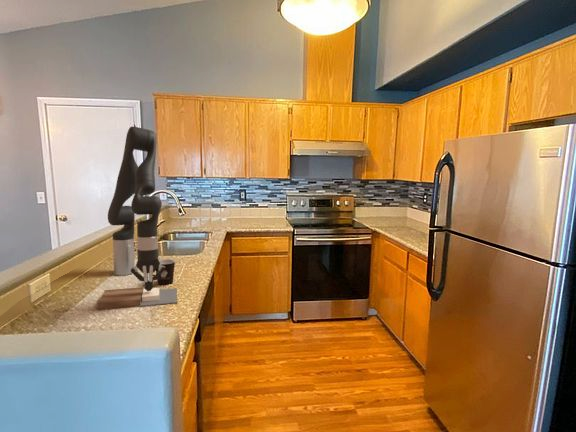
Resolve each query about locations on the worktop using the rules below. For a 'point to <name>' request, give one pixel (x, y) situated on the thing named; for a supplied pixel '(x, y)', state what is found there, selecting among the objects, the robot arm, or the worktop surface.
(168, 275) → the coffee mug
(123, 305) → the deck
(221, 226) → the worktop surface
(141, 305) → the mat
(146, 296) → the cream rectangular block
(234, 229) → the worktop surface
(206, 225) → the worktop surface
